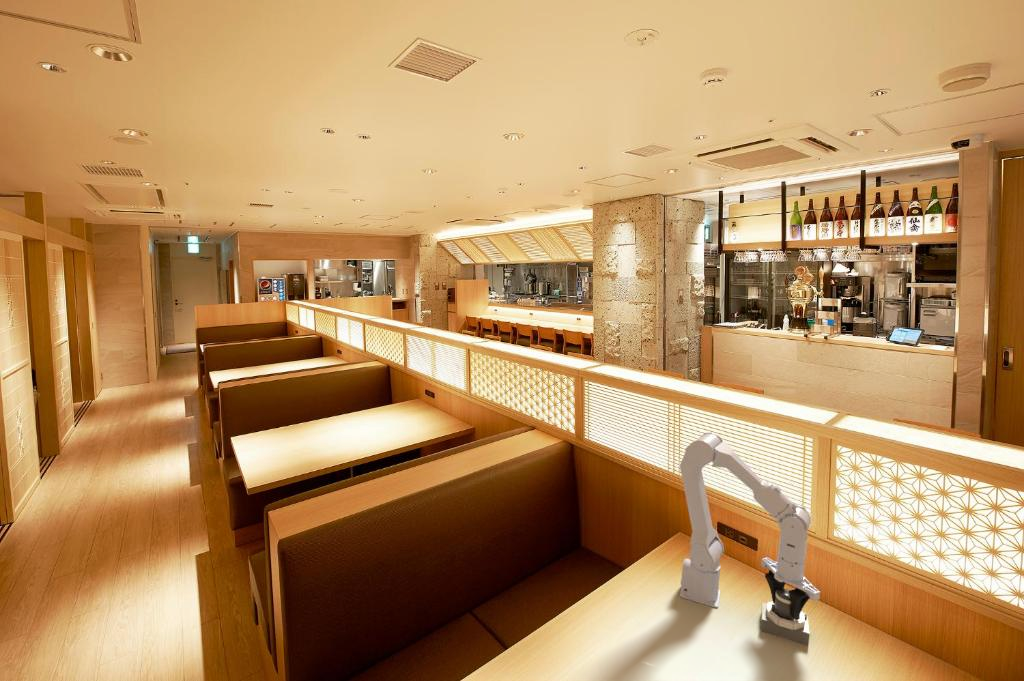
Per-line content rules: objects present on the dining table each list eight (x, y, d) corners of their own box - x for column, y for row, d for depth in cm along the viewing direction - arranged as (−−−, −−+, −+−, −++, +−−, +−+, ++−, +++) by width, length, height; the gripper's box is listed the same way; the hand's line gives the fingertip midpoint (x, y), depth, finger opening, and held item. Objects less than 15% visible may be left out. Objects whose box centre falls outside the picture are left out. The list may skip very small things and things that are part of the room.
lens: (768, 611, 122) (771, 589, 121) (783, 608, 123) (786, 586, 123) (783, 624, 118) (786, 601, 117) (799, 621, 119) (802, 598, 118)
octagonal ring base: (760, 631, 120) (762, 614, 119) (761, 612, 127) (762, 596, 126) (808, 646, 115) (810, 629, 115) (806, 625, 122) (808, 608, 122)
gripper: (754, 544, 124) (749, 594, 126) (806, 578, 110) (800, 633, 112) (775, 539, 126) (770, 588, 128) (829, 572, 113) (822, 626, 115)
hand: (785, 609), depth 120 cm, fingers closed on lens, 4 cm apart
